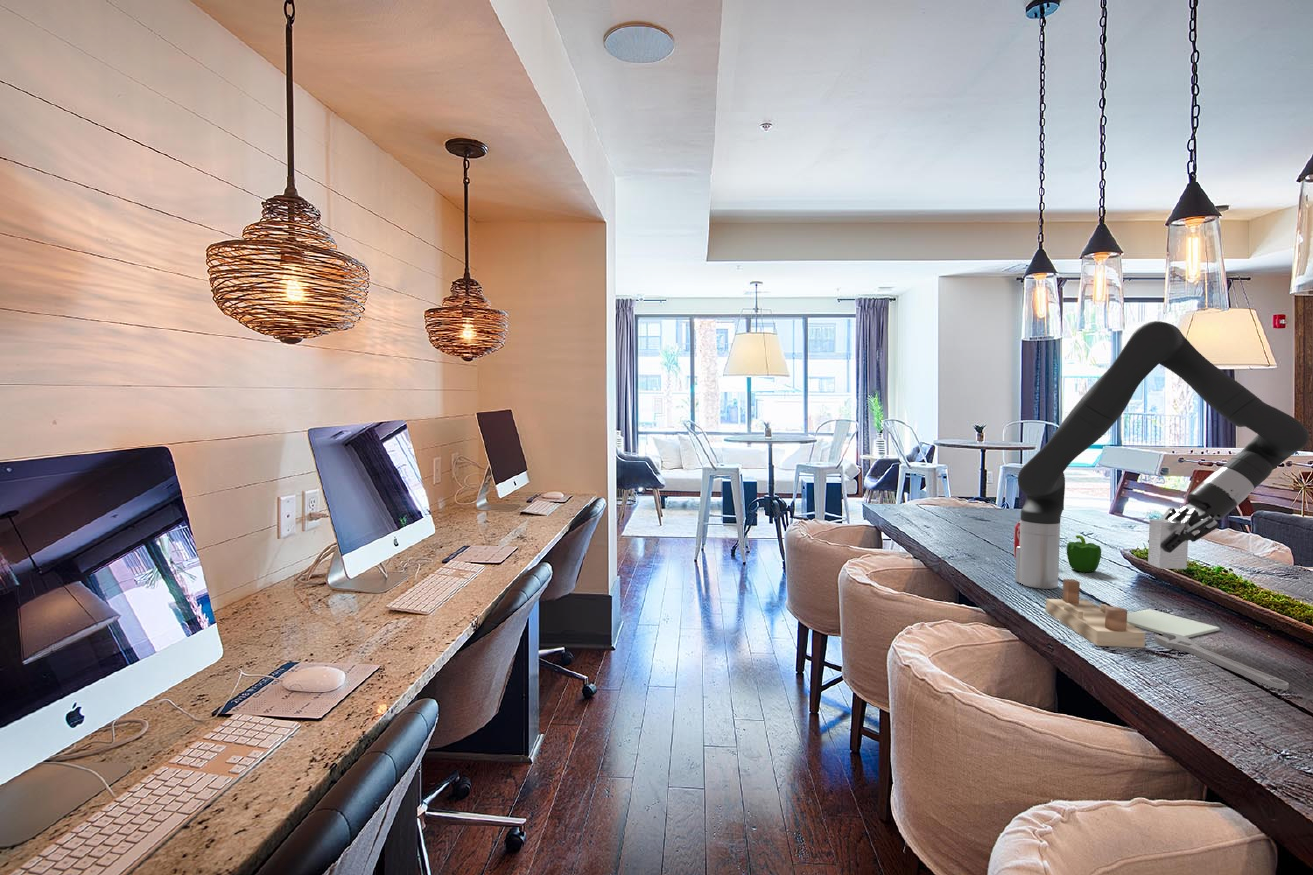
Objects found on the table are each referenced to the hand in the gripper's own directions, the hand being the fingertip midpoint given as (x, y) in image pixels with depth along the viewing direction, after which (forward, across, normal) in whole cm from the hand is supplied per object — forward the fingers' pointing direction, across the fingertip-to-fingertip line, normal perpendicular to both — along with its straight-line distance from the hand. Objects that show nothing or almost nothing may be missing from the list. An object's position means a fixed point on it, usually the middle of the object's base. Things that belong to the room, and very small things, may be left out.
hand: (1158, 547), depth 146 cm
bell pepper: (+6, -48, +18) cm, 52 cm away
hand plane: (+23, +4, +1) cm, 23 cm away
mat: (+11, 0, +14) cm, 17 cm away
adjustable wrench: (+15, +21, +11) cm, 28 cm away
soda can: (+14, -59, +11) cm, 62 cm away
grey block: (+2, 0, +4) cm, 5 cm away
